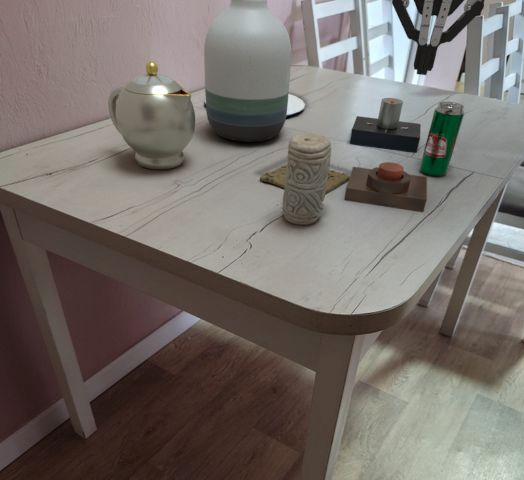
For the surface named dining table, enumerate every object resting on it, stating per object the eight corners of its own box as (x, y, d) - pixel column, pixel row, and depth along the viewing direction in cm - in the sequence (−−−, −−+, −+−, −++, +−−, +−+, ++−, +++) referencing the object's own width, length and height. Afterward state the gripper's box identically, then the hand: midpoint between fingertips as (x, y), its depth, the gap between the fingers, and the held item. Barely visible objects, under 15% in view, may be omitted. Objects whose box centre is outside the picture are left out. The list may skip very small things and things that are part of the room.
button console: (423, 188, 87) (429, 166, 84) (423, 212, 79) (429, 188, 77) (350, 178, 89) (354, 156, 86) (344, 200, 81) (348, 177, 79)
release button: (401, 174, 82) (404, 164, 81) (400, 183, 79) (403, 172, 78) (377, 171, 82) (380, 160, 81) (376, 179, 79) (378, 169, 78)
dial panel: (417, 138, 108) (420, 122, 106) (416, 152, 101) (420, 136, 99) (354, 130, 111) (357, 115, 109) (349, 143, 103) (352, 128, 101)
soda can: (413, 171, 93) (431, 103, 85) (427, 165, 96) (445, 99, 88) (437, 180, 90) (457, 110, 82) (450, 173, 93) (471, 105, 85)
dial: (377, 122, 106) (382, 95, 102) (397, 124, 105) (403, 97, 102) (376, 128, 102) (381, 100, 99) (397, 130, 102) (403, 102, 98)
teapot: (214, 159, 93) (212, 61, 82) (171, 183, 83) (163, 76, 73) (138, 141, 98) (127, 47, 88) (90, 161, 89) (72, 59, 78)
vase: (230, 118, 113) (230, -11, 97) (297, 131, 108) (309, -2, 92) (191, 138, 101) (184, -4, 85) (264, 154, 96) (271, 6, 80)
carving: (278, 226, 73) (284, 144, 65) (285, 205, 79) (291, 127, 71) (319, 232, 73) (331, 149, 65) (324, 210, 78) (335, 132, 70)
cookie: (316, 200, 81) (316, 194, 80) (257, 180, 86) (258, 174, 85) (351, 179, 88) (352, 174, 87) (295, 162, 93) (296, 157, 93)
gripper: (505, -77, 64) (464, 72, 75) (403, -81, 66) (378, 64, 77) (513, -77, 58) (468, 83, 70) (401, -82, 60) (375, 75, 72)
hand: (421, 73), depth 74 cm, fingers closed
